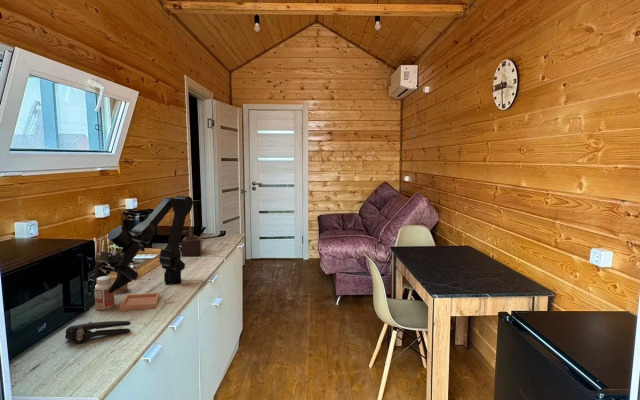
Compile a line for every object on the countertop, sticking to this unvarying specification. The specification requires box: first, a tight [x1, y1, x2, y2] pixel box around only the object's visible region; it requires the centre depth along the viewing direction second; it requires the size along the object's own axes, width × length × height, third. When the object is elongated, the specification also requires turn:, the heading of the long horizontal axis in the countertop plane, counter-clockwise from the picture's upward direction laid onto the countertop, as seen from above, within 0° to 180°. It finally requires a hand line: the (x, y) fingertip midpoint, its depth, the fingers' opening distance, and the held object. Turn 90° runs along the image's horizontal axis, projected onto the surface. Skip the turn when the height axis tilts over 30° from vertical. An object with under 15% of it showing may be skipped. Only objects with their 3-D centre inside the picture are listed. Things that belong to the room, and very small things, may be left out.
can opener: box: [64, 320, 132, 344], centre depth 117 cm, size 18×7×6 cm, turn 120°
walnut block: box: [112, 280, 129, 295], centre depth 157 cm, size 5×5×4 cm
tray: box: [119, 292, 160, 312], centre depth 145 cm, size 12×12×2 cm
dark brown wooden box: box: [181, 226, 203, 258], centre depth 219 cm, size 16×11×18 cm
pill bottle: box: [94, 275, 115, 311], centre depth 140 cm, size 6×6×11 cm
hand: (100, 290), depth 139 cm, fingers open, 9 cm apart
